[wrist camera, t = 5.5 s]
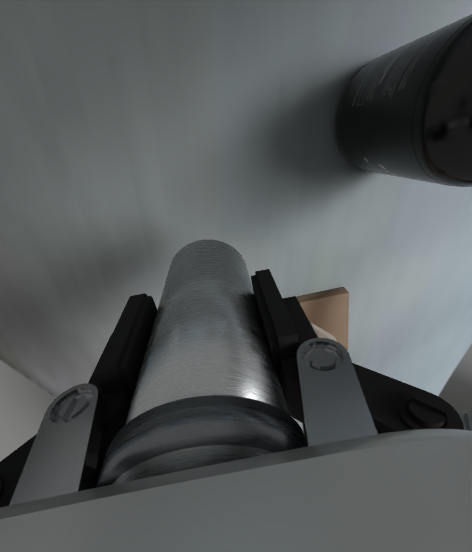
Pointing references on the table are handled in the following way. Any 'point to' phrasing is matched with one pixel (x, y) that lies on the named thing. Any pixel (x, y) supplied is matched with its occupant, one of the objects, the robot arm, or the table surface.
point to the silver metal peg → (203, 376)
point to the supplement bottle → (413, 110)
